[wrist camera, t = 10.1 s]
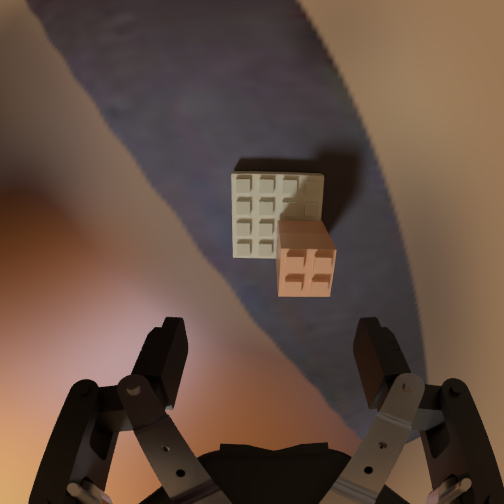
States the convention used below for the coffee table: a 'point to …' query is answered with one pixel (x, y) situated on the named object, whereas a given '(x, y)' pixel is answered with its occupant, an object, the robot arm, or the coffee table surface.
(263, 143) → the coffee table surface
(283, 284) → the brick stack
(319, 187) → the stud plate
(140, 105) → the coffee table surface
